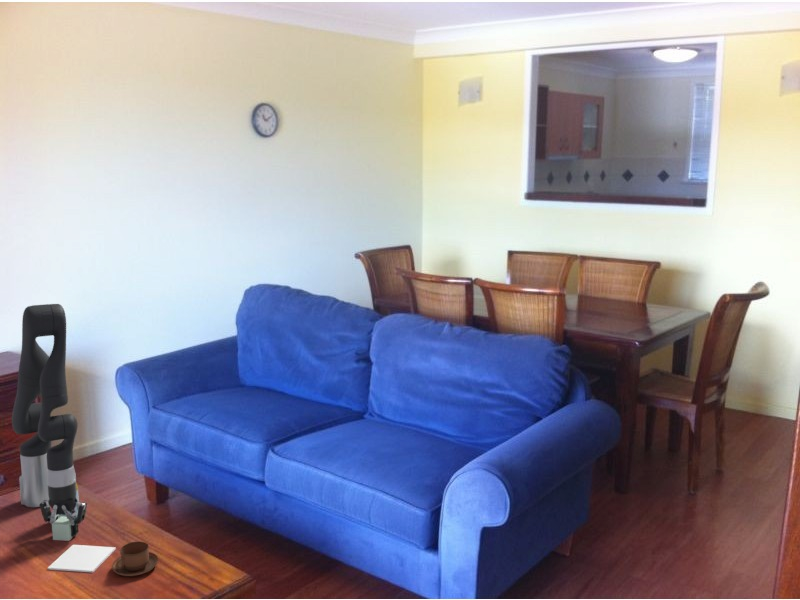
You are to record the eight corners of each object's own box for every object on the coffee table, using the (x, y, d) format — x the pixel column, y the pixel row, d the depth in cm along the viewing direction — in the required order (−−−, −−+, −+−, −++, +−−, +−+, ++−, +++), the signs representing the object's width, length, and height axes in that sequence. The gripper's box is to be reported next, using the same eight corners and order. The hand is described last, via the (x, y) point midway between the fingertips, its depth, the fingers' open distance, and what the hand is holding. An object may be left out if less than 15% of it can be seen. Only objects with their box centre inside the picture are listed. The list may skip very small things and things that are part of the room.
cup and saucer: (144, 582, 201) (142, 561, 200) (103, 577, 203) (101, 556, 202) (166, 560, 212) (165, 539, 211) (127, 555, 215) (126, 535, 214)
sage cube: (53, 539, 223) (51, 523, 222) (62, 531, 228) (61, 516, 227) (69, 540, 222) (67, 524, 222) (77, 532, 227) (76, 517, 227)
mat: (47, 569, 207) (47, 567, 206) (73, 546, 219) (73, 544, 219) (92, 572, 205) (92, 570, 205) (115, 549, 218) (115, 547, 218)
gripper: (91, 477, 225) (94, 530, 228) (45, 474, 227) (49, 527, 230) (78, 487, 218) (81, 542, 221) (31, 485, 219) (35, 539, 222)
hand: (65, 534), depth 225 cm, fingers closed on sage cube, 5 cm apart
